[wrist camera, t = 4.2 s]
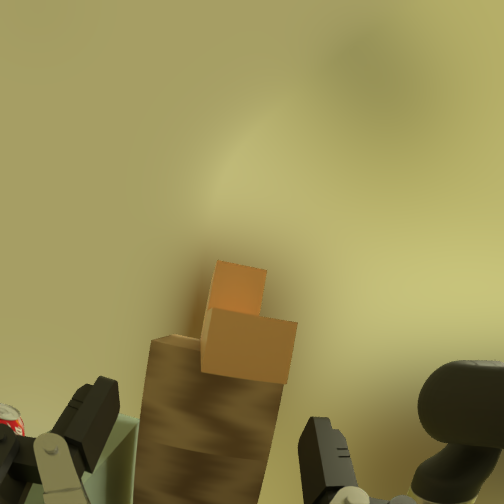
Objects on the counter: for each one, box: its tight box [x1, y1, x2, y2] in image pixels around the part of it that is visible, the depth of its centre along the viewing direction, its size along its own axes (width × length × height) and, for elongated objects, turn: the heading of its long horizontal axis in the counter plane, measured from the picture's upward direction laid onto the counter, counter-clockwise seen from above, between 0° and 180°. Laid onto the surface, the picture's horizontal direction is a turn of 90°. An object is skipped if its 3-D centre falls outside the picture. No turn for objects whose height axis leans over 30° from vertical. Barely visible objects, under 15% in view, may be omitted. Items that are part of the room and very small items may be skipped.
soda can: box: [0, 403, 24, 436], centre depth 30 cm, size 7×7×12 cm
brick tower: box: [133, 334, 284, 504], centre depth 23 cm, size 10×11×32 cm
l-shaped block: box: [200, 260, 298, 384], centre depth 23 cm, size 4×18×7 cm, turn 9°
